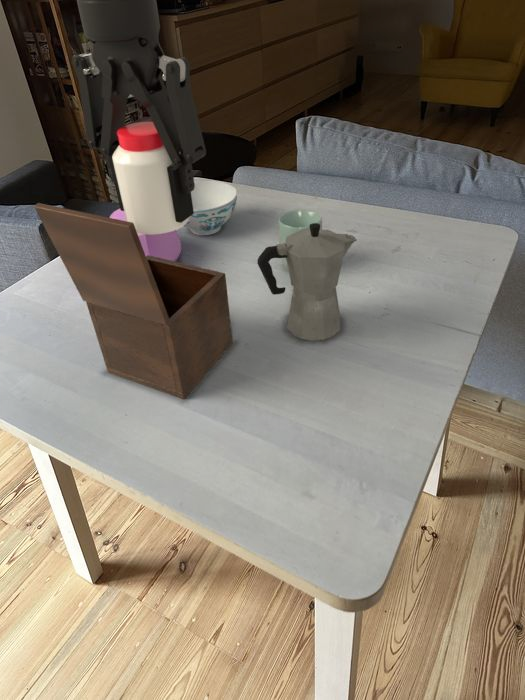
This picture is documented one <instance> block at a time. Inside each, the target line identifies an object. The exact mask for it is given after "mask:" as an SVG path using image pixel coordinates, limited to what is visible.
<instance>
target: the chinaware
mask: <svg viewBox="0 0 525 700" xmlns="http://www.w3.org/2000/svg"><path fill="white" fill-rule="evenodd" d="M194 184H195V187H194V190H193V191H191V197H192V204H193V211H194V214H193V215H191V216H190V218H189V221H188V222H187V223H186V224H185V225H184V226H183V227H186V228H187V229H189V230H190V232H191V233H193V234H195V235H197V236H209V235H214V234H216V233H218V232H219V231H220V230H221V229H222V226H223V225H224V224H225V223H227V221H228V220H229V219H230V218H231V216H232V215H233V213H234V210H235V208H236V205H237V199H238V190H237V189H236V188H235V187H234V186H233V185H232V184H230V183H226V182H222V181H215V180H204V181H203V180H201V181H194Z"/></svg>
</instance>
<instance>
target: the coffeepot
mask: <svg viewBox="0 0 525 700" xmlns="http://www.w3.org/2000/svg"><path fill="white" fill-rule="evenodd" d="M309 227H310V229H304V230H302V231H299V232H297V233H295V234H292V235H290V236H287V237H286V242H285V243H283V244H279V243H278V244H275V245H271V246H266V247H265V249H264V250H263V251H262V252H261V254H260V255H259V256H258V258H257V266H258V268H259V270H260V271H261V274H262V276H263V278H264V280H265V282H266V284H267V286H268V289H269V291H270V293H271V294H272V295H281V294H282V295H283V294H284V293H285V292H286V287H285V286H283V287H278V286H277V285H278V284H277V278H276V277H275V275H274V273H273V268H272V265H271V264H270V261H271V260H272V259H282V258H286V259H287V265H288V268H287V269H288V275H289V280H290V285H291V286H292V293H291V298H290V306H289V311H288V319H287V326H286V330H287V331H288V332H289V333H291V334H292V335H293V336H294V337H296V338H297V339H299V340H300V339H301V340H304V341H310V342H319V341H324V340H328V339H330V338H332V337H334V336H335V335H336V334H337V333H339V332H340V331H341V313H340V306H339V300H338V293H337V287H338V282H339V280H340V274H341V268H342V264H343V260H344V257H345V256H346V254H347V253H348V251H349V249H350V248H351V247H352V245H353V244H354V243H355V242H357V238H356V237H355V236H354V235H352V234H348V233H336V232H334V231H332V230H330V229H322V230H321V229H320V224H318V223H312V224H310V226H309Z"/></svg>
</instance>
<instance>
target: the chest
mask: <svg viewBox="0 0 525 700" xmlns="http://www.w3.org/2000/svg"><path fill="white" fill-rule="evenodd" d="M146 258H147V261H148V263H149V266H150V269H151V271H152V274H153V277H154V279H155V282H156V285H157V287H158V290H159V293H160V295H161V298H162V301H163V304H164V306H165V309H166V312H167V314H168V317H169V320H170V322H169V323H168V324H167V325H164V324H161V323H157V322H154V321H151V320H147V319H144V318H140V317H137V316H134V315H130V314H127V313H123V312H120V311H117V310H113V309H110V308H106V307H103V306H99V305H96V304H93V303H89V302H86V301H85V303H86V307H87V309H88V314H89V316H90V320H91V322H92V323H91V324H92V326H93V329H94V332H95V336H96V338H97V342H98V345H99V348H100V351H101V354H102V359H103V361H104V364H105V367H106V370H107V373H108V374H111V375H113V376H116V377H119V378H122V379H126V380H128V381H131V382H133V383H136V384H140V385H143V386H145V387H148V388H151V389H154V390H156V391H158V392H159V391H160V392H162V393H165V394H168V395H170V396H173V397H177V398H179V399H182V400H185V399H186V398H187V397H188V395H190V393H191V392H192V391H193V390H194V389H195V388H196V386H198V384H199V383H200V382H201V381H202V379H203V378H204V377H205V376H206V375H207V374H208V373H209V371H210V370H211V369H212V368H213V367H214V366H215V365H216V364H217V363H218V361H219V360H220V359H221V358H222V357H223V356H224V354H225V353H226V352H227V351H228V350H229V349H230V347H231V346H232V345H233V344H234V342H233V341H234V340H233V334H232V333H233V331H232V323H231V315H230V305H229V304H230V303H229V295H228V286H227V277H226V273H225V272H221V271H219V270H218V271H217V270H213V269H209V268H204V267H200V266H197V265H192V264H188V263H183V262H179V261H171V260H166V259H162V258H158V257H154V256H149V255H147V256H146Z"/></svg>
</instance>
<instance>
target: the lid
mask: <svg viewBox="0 0 525 700" xmlns="http://www.w3.org/2000/svg"><path fill="white" fill-rule="evenodd" d="M33 208H34V210H35V212H36V214H37V216H38V217H39V220H40V222H41V223H42V225H43V227H44V229H45V231H46V233H47V235H48V237H49V238H50V240H51V242H52V244H53V247H54V248H55V250H56V252H57V254H58V255H59V257H60V259H61V261H62V263H63V265H64V267H65V269H66V271H67V273H68V274H69V276H70V278H71V280H72V282H73V284H74V286H75V288H76V290H77V292H78V294H79V295H80V297H81V299H82V301H83V302H85V303H86V302H89V303H93V304H96V305H99V306H103V307H106V308H110V309H113V310H117V311H120V312H123V313H127V314H130V315H134V316H137V317H140V318H144V319H147V320H151V321H154V322H157V323H161V324H164V325H167V324H168V323H169V322H170V320H169V317H168V314H167V312H166V309H165V306H164V304H163V301H162V298H161V295H160V293H159V290H158V287H157V285H156V282H155V279H154V277H153V274H152V271H151V269H150V266H149V263H148V261H147V258H146V255H145V253H144V250H143V247H142V245H141V242H140V239H139V237H138V234H137V231H136V229H135V226H134V223H132V222H127V221H122V220H118V219H113V218H110V217H107V216H104V215H98V214H93V213H89V212H85V211H84V212H83V211H79V210H74V209H70V208H65V207H60V206H54V205H51V204H46V203H41V202H37V203H36V204H35V205H34V206H33Z"/></svg>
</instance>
